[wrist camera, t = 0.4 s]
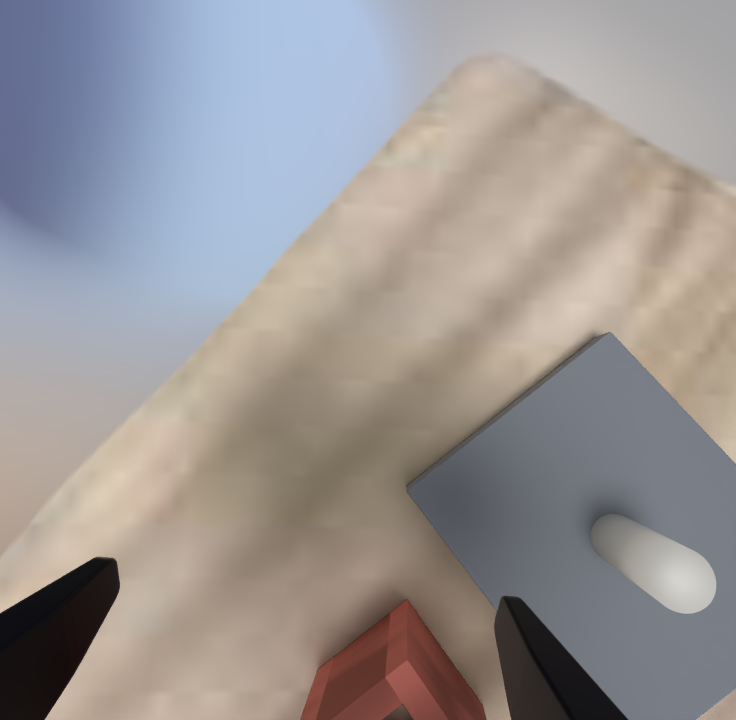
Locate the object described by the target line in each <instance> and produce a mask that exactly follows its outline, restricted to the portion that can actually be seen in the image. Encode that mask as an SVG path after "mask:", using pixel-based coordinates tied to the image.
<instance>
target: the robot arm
mask: <svg viewBox="0 0 736 720" xmlns="http://www.w3.org/2000/svg"><path fill="white" fill-rule="evenodd" d="M119 589H120V581H119V574H118V566H117V561H116V560H115V559H114V558H108V557H96V558H93V559H91V560H90V561H88V562H86V563H85V564H83V565H81V566H79V567H78V568H76V569H74V570H73V571H71V572H69V573H68V574H66V575H64V576H63V577H61V578H59V579H57V580H56V581H54V582H52V583H51V584H49V585H47V586H46V587H44V588H42V589H40V590H39V591H37V592H35V593H34V594H32V595H30V596H29V597H27V598H25V599H24V600H22V601H20V602H18V603H17V604H15V605H13V606H12V607H10V608H8V609H7V610H5V611H3V612H2V613H0V720H45V718H46V717H47V715H48V714H49V712H50V711H51V709H52V708H53V706H54V705H55V703H56V701H57V700H58V698H59V697H60V695H61V694H62V692H63V691H64V689H65V688H66V686H67V685H68V683H69V681H70V680H71V678H72V677H73V675H74V673H75V672H76V670H77V668H78V666H79V665H80V663H81V661H82V660H83V658H84V656H85V654H86V652H87V650H88V649H89V647H90V645H91V643H92V641H93V639H94V638H95V636H96V634H97V632H98V630H99V628H100V627H101V625H102V623H103V621H104V619H105V617H106V616H107V614H108V612H109V610H110V608H111V607H112V605H113V603H114V601H115V599H116V597H117V595H118V593H119ZM494 629H495V636H496V642H497V647H498V653H499V658H500V663H501V669H502V674H503V679H504V685H505V690H506V696H507V701H508V706H509V711H510V716H511V720H629V719H628V718H627V717H626V716H625V715H624V714H623V713H622V711H621V710H620V709H619V708H618V707H617V706H616V705H615V704H614V702H613V701H612V700H611V699H610V698H609V697H608V696H607V694H606V693H605V692H604V691H603V690H602V689H601V688H600V687H599V685H598V684H597V683H596V682H595V681H594V680H593V679H592V678H591V676H590V675H589V674H588V673H587V672H586V671H585V670H584V669H583V667H582V666H581V665H580V664H579V663H578V662H577V661H576V659H575V658H574V657H573V656H572V655H571V654H570V653H569V652H568V650H567V649H566V648H565V647H564V646H563V645H562V644H561V643H560V641H559V640H558V639H557V638H556V637H555V636H554V635H553V634H552V632H551V631H550V630H549V629H548V628H547V627H546V626H545V624H544V623H543V622H542V621H541V620H540V619H539V618H538V617H537V615H536V614H535V613H534V612H533V611H532V610H531V609H530V608H529V606H528V605H527V604H526V603H525V602H524V601H523V600H522V599H521V598H519V597H516V596H502V597H501V599H500V602H499V606H498V610H497V614H496V618H495V623H494Z"/></svg>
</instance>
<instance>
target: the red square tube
mask: <svg viewBox="0 0 736 720" xmlns="http://www.w3.org/2000/svg"><path fill="white" fill-rule="evenodd" d="M402 704H403V705H404V706H405V708H406V709H407V711H408V712H409V714H410V715H411V717H412V718H413V720H486V716H485V712H484V708H483V705H482V704H481V702H480V701H479V700H478V698H477V697H476V695H475V694H474V693H473V691H472V690H471V688H470V687H469V686H468V684H467V683H466V681H465V680H464V679H463V677H462V676H461V674H460V673H459V671H458V670H457V669H456V667H455V666H454V664H453V663H452V662H451V660H450V659H449V657H448V656H447V655H446V653H445V652H444V650H443V649H442V647H441V646H440V645H439V643H438V642H437V640H436V639H435V638H434V636H433V635H432V633H431V632H430V631H429V629H428V628H427V626H426V625H425V624H424V622H423V621H422V619H421V618H420V616H419V615H418V614H417V612H416V611H415V609H414V608H413V607H412V605H411V604H410V602H409V601H408V600H406V601H404V602H403V603H402V604H401V605H399V606H398V607H397V608H395V609H394V610H393V611H392V612H390V613H389V614H388V615H387V616H385V617H384V618H383V619H381V620H380V621H379V622H378V623H376V624H375V625H374V626H373V627H371V628H370V629H369V630H367V631H366V632H365V633H364V634H362V635H361V636H360V637H359V638H357V639H356V640H355V641H353V642H352V643H351V644H350V645H348V646H347V647H346V648H345V649H343V650H342V651H341V652H339V653H338V654H337V655H336V656H334V657H333V658H332V659H331V660H329V661H328V662H327V663H325V664H324V665H323V666H322V667H320V668H319V669H318V670H317V673H316V676H315V678H314V681H313V684H312V687H311V690H310V693H309V696H308V699H307V702H306V705H305V708H304V711H303V713H302V716H301V719H300V720H382V719H384V718H385V717H386V716H388V715H389V714H390V713H391V712H393V711H394V710H395V709H396V708H398V707H399V706H400V705H402Z"/></svg>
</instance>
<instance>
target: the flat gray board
mask: <svg viewBox="0 0 736 720" xmlns="http://www.w3.org/2000/svg"><path fill="white" fill-rule="evenodd" d="M407 493H408V494H409V495H410V497H411V498H412V499H413V501H414V502H415V503H416V505H417V506H418V507H419V509H420V510H421V511H422V513H423V514H424V515H425V517H426V518H427V519H428V521H429V522H430V523H431V525H432V526H433V527H434V529H435V530H436V531H437V533H438V534H439V535H440V537H441V538H442V539H443V541H444V542H445V543H446V545H447V546H448V547H449V549H450V550H451V551H452V553H453V554H454V555H455V557H456V558H457V559H458V561H459V562H460V563H461V565H462V566H463V567H464V569H465V570H466V571H467V573H468V574H469V575H470V577H471V578H472V579H473V581H474V582H475V583H476V585H477V586H478V587H479V589H480V590H481V591H482V593H483V594H484V595H485V597H486V598H487V599H488V601H489V602H490V603H491V605H492V606H493V607H494V609H495V610H496V611H497V610H498V606H499V602H500V599H501V597H502V596H516V597H519V598H521V599H522V600H523V601H524V602H525V603H526V604H527V605H528V606H529V608H530V609H531V610H532V611H533V612H534V613H535V614H536V615H537V617H538V618H539V619H540V620H541V621H542V622H543V623H544V624H545V626H546V627H547V628H548V629H549V630H550V631H551V632H552V634H553V635H554V636H555V637H556V638H557V639H558V640H559V641H560V643H561V644H562V645H563V646H564V647H565V648H566V649H567V650H568V652H569V653H570V654H571V655H572V656H573V657H574V658H575V659H576V661H577V662H578V663H579V664H580V665H581V666H582V667H583V669H584V670H585V671H586V672H587V673H588V674H589V675H590V676H591V678H592V679H593V680H594V681H595V682H596V683H597V684H598V685H599V687H600V688H601V689H602V690H603V691H604V692H605V693H606V694H607V696H608V697H609V698H610V699H611V700H612V701H613V702H614V704H615V705H616V706H617V707H618V708H619V709H620V710H621V711H622V713H623V714H624V715H625V716H626V717H627V718H628V719H629V720H696V719H697V718H698V717H700V716H701V715H702V714H704V713H705V712H706V711H707V710H709V709H710V708H711V707H712V706H714V705H715V704H716V703H718V702H719V701H720V700H721V699H723V698H724V697H725V696H727V695H728V694H729V693H730V692H732V691H733V690H734V689H735V688H736V464H735V463H734V462H733V461H732V460H731V458H730V457H729V456H728V455H727V454H726V453H725V452H724V451H723V450H722V449H721V448H720V447H719V446H718V445H717V444H716V443H715V442H714V441H713V439H712V438H711V437H710V436H709V435H708V434H707V433H706V432H705V431H704V430H703V429H702V428H701V427H700V426H699V425H698V424H697V423H696V422H695V420H694V419H693V418H692V417H691V416H690V415H689V414H688V413H687V412H686V411H685V410H684V409H683V408H682V407H681V406H680V405H679V404H678V403H677V401H676V400H675V399H674V398H673V397H672V396H671V395H670V394H669V393H668V392H667V391H666V390H665V389H664V388H663V387H662V386H661V385H660V384H659V383H658V381H657V380H656V379H655V378H654V377H653V376H652V375H651V374H650V373H649V372H648V371H647V370H646V369H645V368H644V367H643V366H642V365H641V364H640V362H639V361H638V360H637V359H636V358H635V357H634V356H633V355H632V354H631V353H630V352H629V351H628V350H627V349H626V348H625V347H624V346H623V345H622V343H621V342H620V341H619V340H618V339H617V338H616V337H615V336H614V335H613V334H612V333H611V332H608V333H605V334H603V335H600V336H597V337H595V338H594V339H593V340H592V341H590V342H589V343H588V344H587V345H585V346H584V347H583V348H581V349H580V350H579V351H578V352H576V353H575V354H574V355H573V356H571V357H570V358H569V359H568V360H566V361H565V362H564V363H562V364H561V365H560V366H559V367H557V368H556V369H555V370H554V371H552V372H551V373H550V374H548V375H547V376H546V377H545V378H543V379H542V380H541V381H540V382H538V383H537V384H536V385H534V386H533V387H532V388H531V389H529V390H528V391H527V392H526V393H524V394H523V395H522V396H520V397H519V398H518V399H517V400H515V401H514V402H513V403H512V404H510V405H509V406H508V407H506V408H505V409H504V410H503V411H501V412H500V413H499V414H498V415H496V416H495V417H494V418H493V419H491V420H490V421H489V422H487V423H486V424H485V425H484V426H482V427H481V428H480V429H479V430H477V431H476V432H475V433H473V434H472V435H471V436H470V437H468V438H467V439H466V440H465V441H463V442H462V443H461V444H459V445H458V446H457V447H456V448H454V449H453V450H452V451H451V452H449V453H448V454H447V455H445V456H444V457H443V458H442V459H440V460H439V461H438V462H437V463H435V464H434V465H433V466H431V467H430V468H429V469H428V470H426V471H425V472H424V473H423V474H421V475H420V476H419V477H417V478H416V479H415V480H414V481H412V482H411V483H410V484H409V485H407Z"/></svg>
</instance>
